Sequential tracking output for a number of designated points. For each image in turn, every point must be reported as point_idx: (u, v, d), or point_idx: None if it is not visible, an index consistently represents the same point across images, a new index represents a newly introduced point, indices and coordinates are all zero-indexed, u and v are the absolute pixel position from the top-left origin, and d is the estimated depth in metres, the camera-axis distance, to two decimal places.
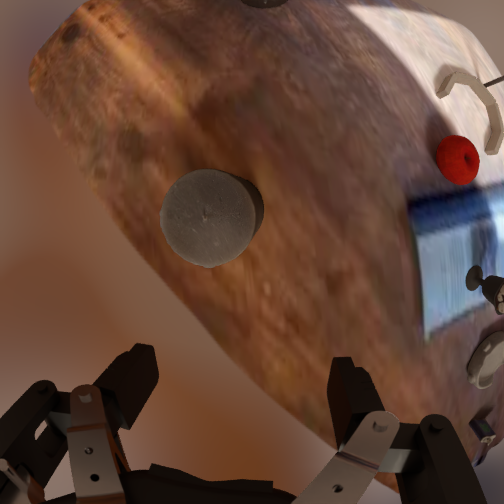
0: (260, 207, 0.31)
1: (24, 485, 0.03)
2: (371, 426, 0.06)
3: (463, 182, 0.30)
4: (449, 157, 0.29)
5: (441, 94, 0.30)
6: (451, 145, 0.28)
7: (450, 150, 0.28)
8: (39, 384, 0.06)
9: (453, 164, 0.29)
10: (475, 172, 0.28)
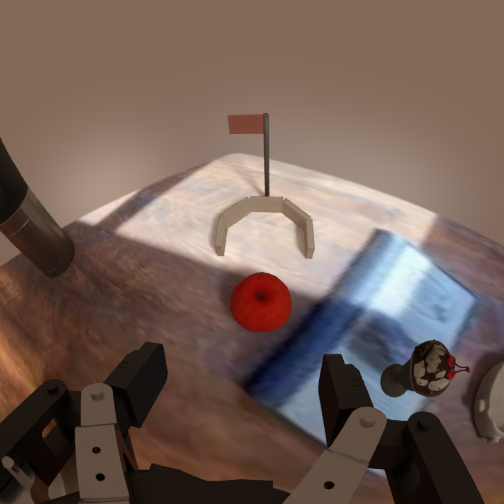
0: None
1: (28, 483, 0.03)
2: (358, 422, 0.06)
3: (277, 321, 0.32)
4: (239, 313, 0.32)
5: (219, 251, 0.42)
6: (234, 299, 0.33)
7: (235, 305, 0.33)
8: (49, 383, 0.07)
9: (246, 316, 0.32)
10: (279, 300, 0.32)
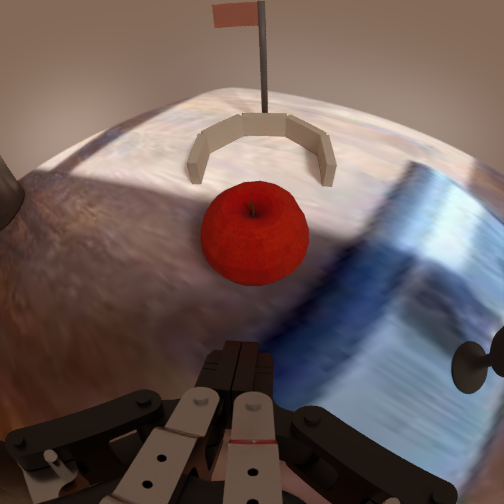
0: None
1: (64, 480, 0.04)
2: (241, 403, 0.07)
3: (284, 259, 0.17)
4: (212, 243, 0.17)
5: (193, 174, 0.27)
6: (205, 220, 0.18)
7: (206, 230, 0.18)
8: (142, 395, 0.07)
9: (225, 247, 0.17)
10: (288, 216, 0.17)
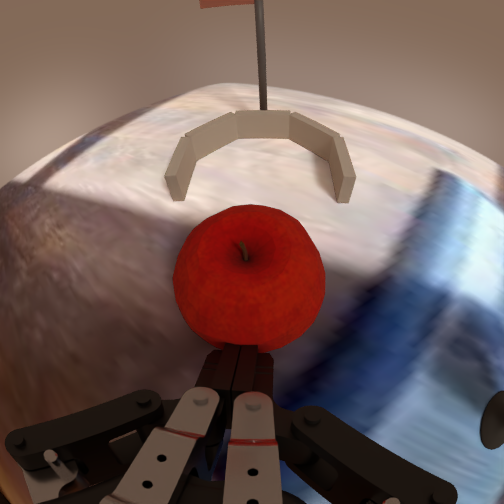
0: None
1: (63, 480, 0.04)
2: (241, 403, 0.07)
3: (291, 326, 0.11)
4: (186, 302, 0.12)
5: (173, 189, 0.22)
6: (177, 266, 0.13)
7: (178, 282, 0.12)
8: (142, 395, 0.07)
9: (204, 312, 0.11)
10: (298, 263, 0.11)
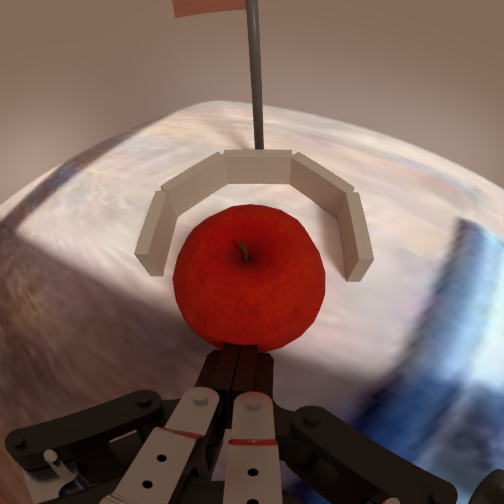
0: None
1: (64, 480, 0.04)
2: (241, 403, 0.07)
3: (292, 326, 0.11)
4: (186, 303, 0.12)
5: (148, 265, 0.18)
6: (177, 266, 0.13)
7: (178, 282, 0.12)
8: (142, 395, 0.07)
9: (205, 312, 0.11)
10: (298, 264, 0.11)
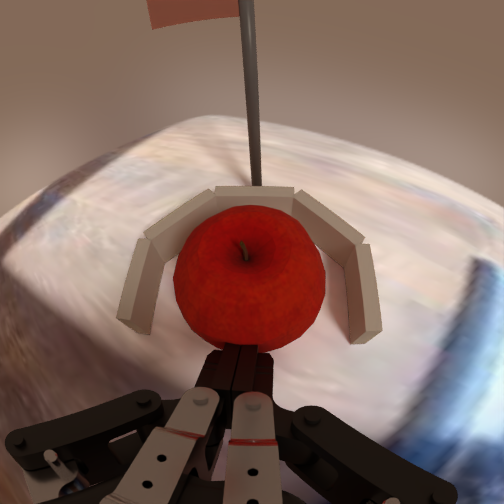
0: None
1: (64, 480, 0.04)
2: (241, 403, 0.07)
3: (292, 326, 0.11)
4: (186, 302, 0.12)
5: (133, 327, 0.15)
6: (178, 266, 0.13)
7: (179, 281, 0.12)
8: (142, 395, 0.07)
9: (205, 312, 0.11)
10: (298, 263, 0.11)
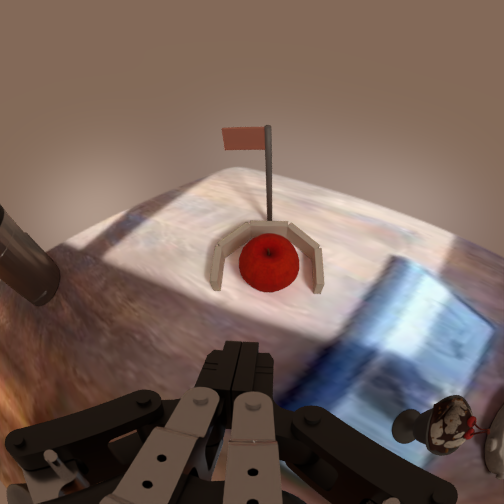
0: None
1: (63, 480, 0.04)
2: (241, 403, 0.07)
3: (285, 278, 0.33)
4: (247, 270, 0.33)
5: (214, 286, 0.37)
6: (243, 257, 0.34)
7: (244, 263, 0.34)
8: (142, 394, 0.07)
9: (255, 272, 0.33)
10: (287, 256, 0.33)
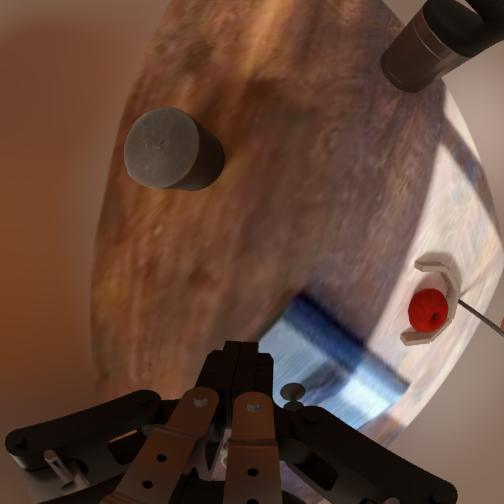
0: (202, 178, 0.34)
1: (64, 480, 0.04)
2: (241, 403, 0.07)
3: (415, 326, 0.38)
4: (426, 301, 0.36)
5: (418, 266, 0.39)
6: (435, 297, 0.36)
7: (431, 299, 0.36)
8: (142, 395, 0.07)
9: (423, 308, 0.36)
10: (429, 330, 0.36)
